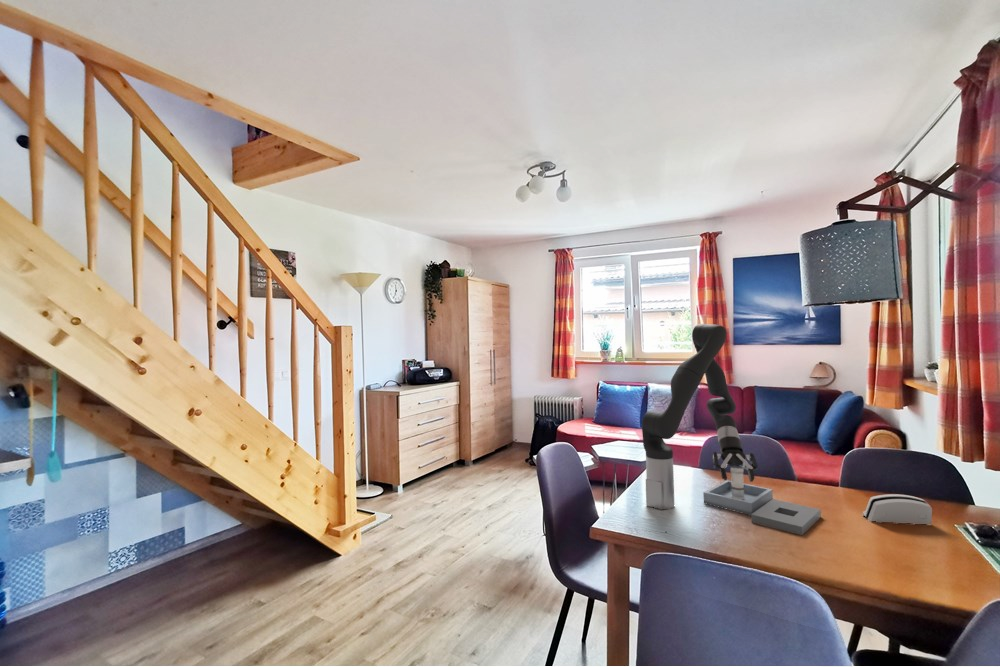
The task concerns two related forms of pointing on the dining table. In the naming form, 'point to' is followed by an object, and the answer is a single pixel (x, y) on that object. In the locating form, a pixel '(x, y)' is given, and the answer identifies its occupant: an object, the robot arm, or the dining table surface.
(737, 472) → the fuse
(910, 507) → the grey grooved half-disc
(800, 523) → the block
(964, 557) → the dining table surface
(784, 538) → the dining table surface
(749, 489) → the parts tray
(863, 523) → the dining table surface
